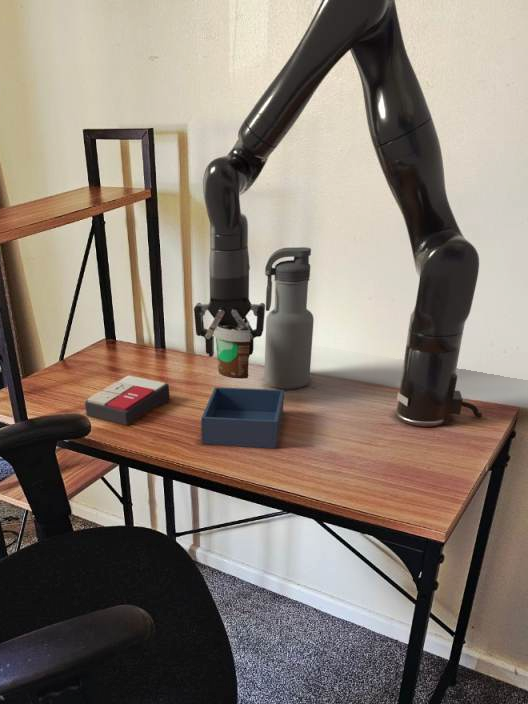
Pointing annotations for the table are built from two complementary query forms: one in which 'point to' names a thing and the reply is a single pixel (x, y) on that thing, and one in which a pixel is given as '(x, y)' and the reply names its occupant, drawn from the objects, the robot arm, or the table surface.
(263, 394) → the tote
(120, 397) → the calculator
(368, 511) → the table surface
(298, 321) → the water bottle
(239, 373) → the food container
